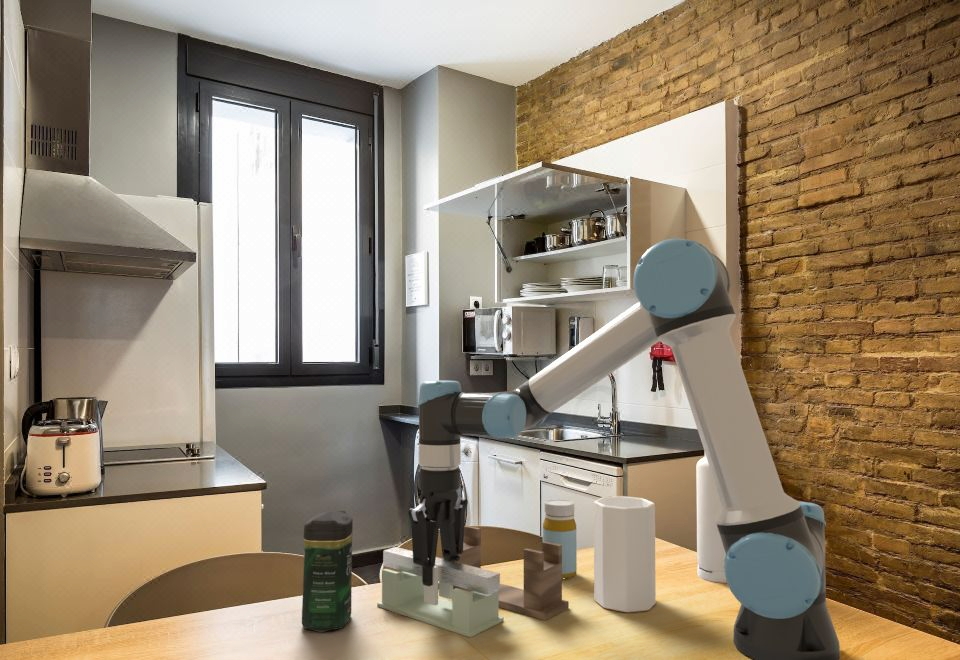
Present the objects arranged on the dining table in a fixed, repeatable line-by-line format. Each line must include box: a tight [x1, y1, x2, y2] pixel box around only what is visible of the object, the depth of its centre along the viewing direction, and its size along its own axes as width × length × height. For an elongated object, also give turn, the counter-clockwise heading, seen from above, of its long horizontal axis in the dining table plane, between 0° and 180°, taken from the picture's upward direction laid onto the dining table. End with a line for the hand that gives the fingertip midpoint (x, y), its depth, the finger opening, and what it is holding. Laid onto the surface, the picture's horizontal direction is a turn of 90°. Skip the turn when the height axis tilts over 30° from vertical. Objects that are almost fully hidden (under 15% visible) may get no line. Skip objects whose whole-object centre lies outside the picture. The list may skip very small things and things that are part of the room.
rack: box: [438, 525, 570, 621], centre depth 130 cm, size 25×8×11 cm, turn 51°
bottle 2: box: [695, 450, 727, 584], centre depth 143 cm, size 8×8×28 cm
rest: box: [376, 568, 504, 638], centre depth 122 cm, size 22×9×7 cm, turn 51°
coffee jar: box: [301, 509, 354, 632], centre depth 118 cm, size 10×8×19 cm
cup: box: [593, 495, 657, 614], centre depth 128 cm, size 11×11×18 cm
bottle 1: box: [542, 498, 578, 579], centre depth 144 cm, size 7×7×15 cm
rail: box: [382, 546, 501, 595], centre depth 122 cm, size 25×3×3 cm, turn 51°
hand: (438, 599), depth 122 cm, fingers closed on rail, 3 cm apart
